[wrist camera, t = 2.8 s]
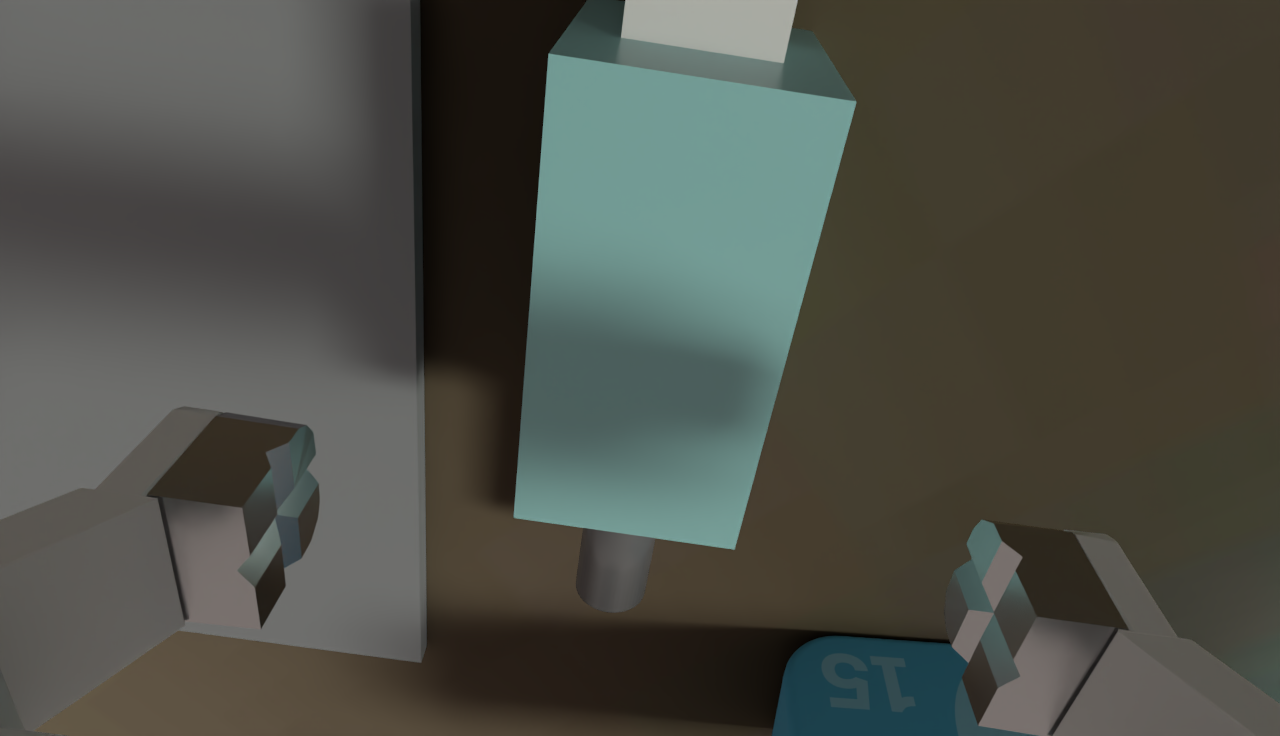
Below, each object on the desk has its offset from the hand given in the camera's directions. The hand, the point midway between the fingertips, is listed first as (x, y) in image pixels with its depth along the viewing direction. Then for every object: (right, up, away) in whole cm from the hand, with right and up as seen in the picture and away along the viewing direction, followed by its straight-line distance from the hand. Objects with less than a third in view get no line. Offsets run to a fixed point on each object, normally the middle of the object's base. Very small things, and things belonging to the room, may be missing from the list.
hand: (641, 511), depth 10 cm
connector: (+1, +5, +7) cm, 8 cm away
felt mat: (-11, +2, +9) cm, 14 cm away
